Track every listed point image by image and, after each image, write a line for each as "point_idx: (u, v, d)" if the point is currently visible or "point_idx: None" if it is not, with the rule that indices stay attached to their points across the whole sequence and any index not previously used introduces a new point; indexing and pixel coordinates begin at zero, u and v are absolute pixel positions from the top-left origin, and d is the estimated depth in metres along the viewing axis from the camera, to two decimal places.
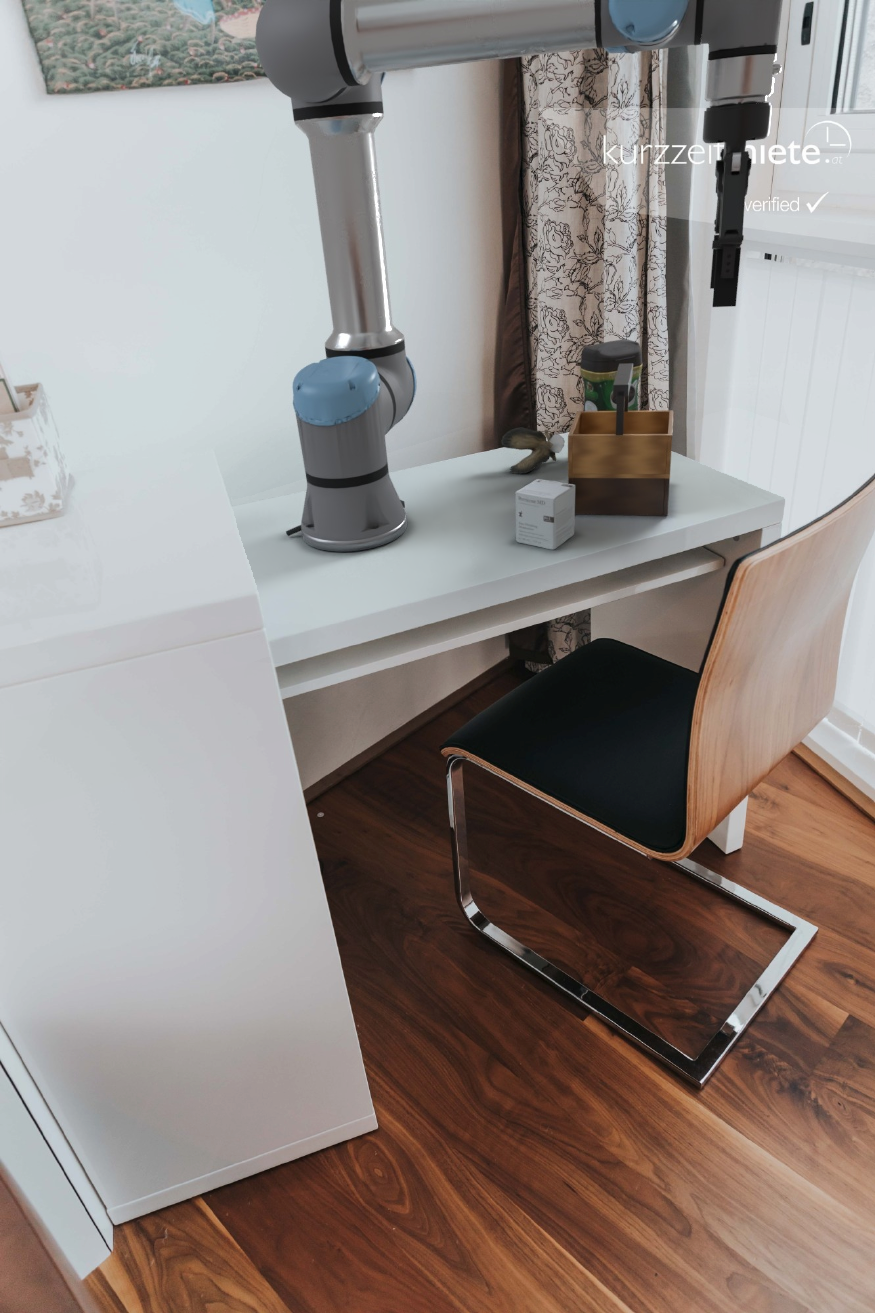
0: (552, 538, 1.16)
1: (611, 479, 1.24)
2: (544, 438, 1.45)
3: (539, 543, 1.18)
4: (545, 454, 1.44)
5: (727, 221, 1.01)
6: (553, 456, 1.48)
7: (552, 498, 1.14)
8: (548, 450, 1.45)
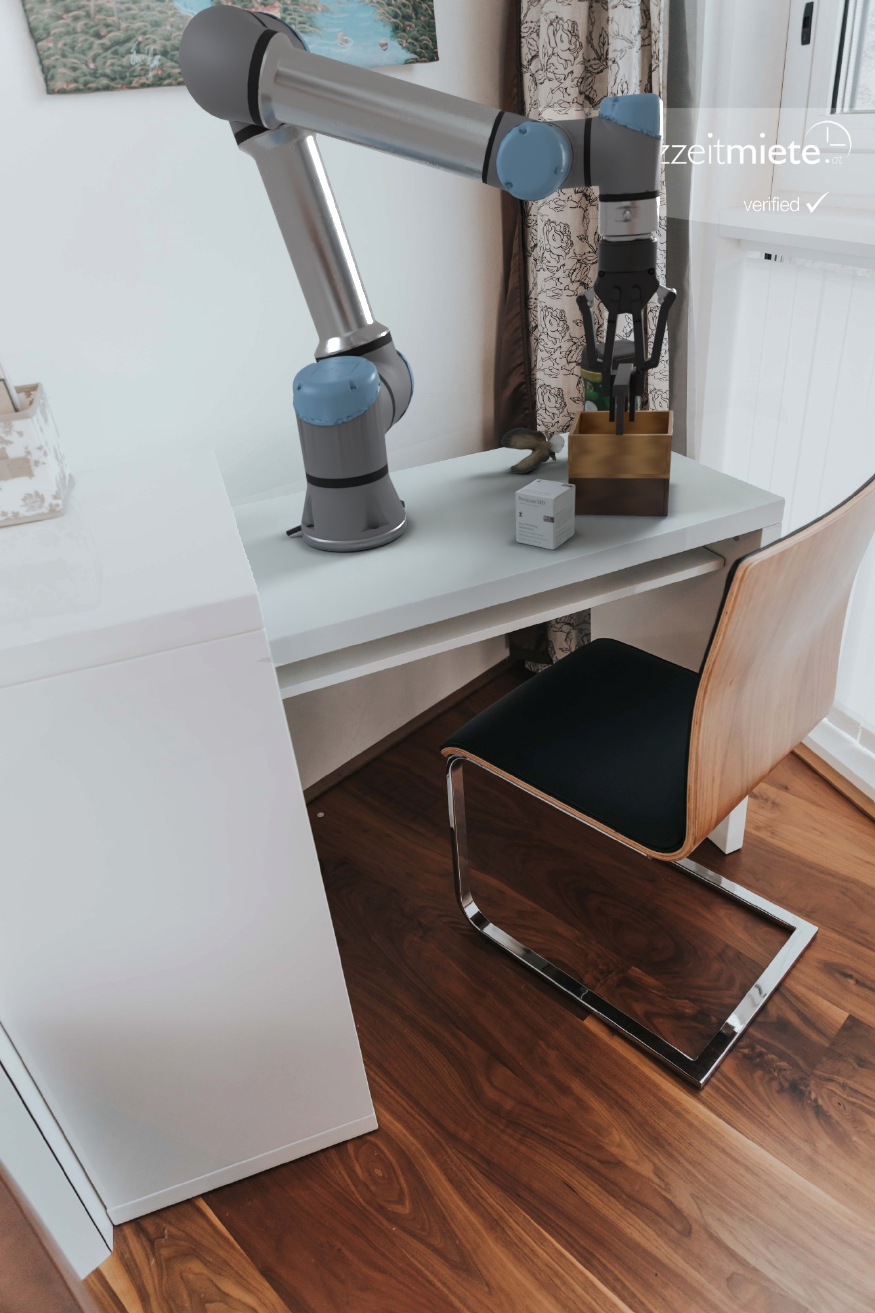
0: (552, 538, 1.16)
1: (611, 479, 1.24)
2: (544, 438, 1.45)
3: (539, 543, 1.18)
4: (545, 454, 1.44)
5: None
6: (553, 456, 1.48)
7: (552, 498, 1.14)
8: (548, 450, 1.45)
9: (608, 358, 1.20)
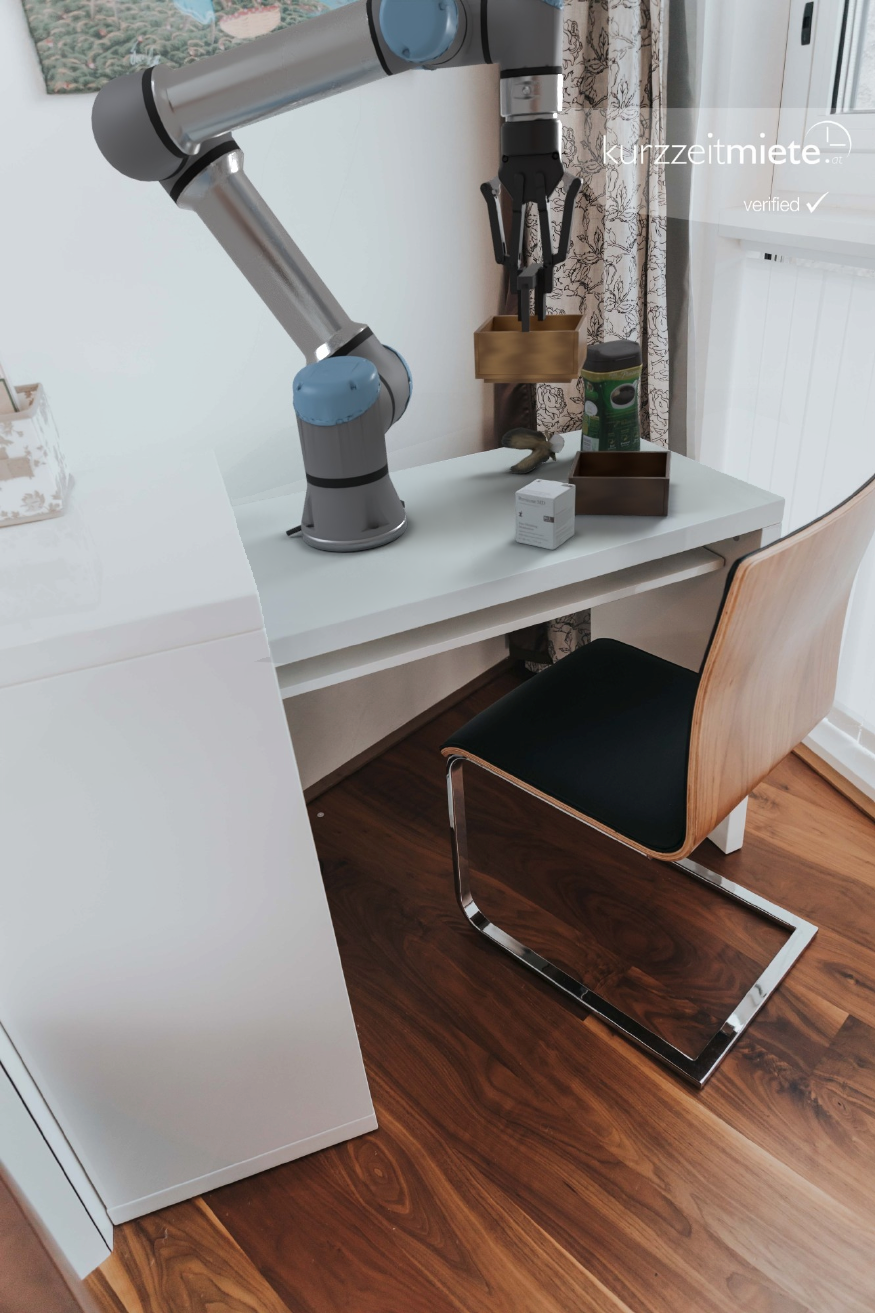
0: (552, 538, 1.16)
1: (611, 479, 1.24)
2: (544, 438, 1.45)
3: (539, 543, 1.18)
4: (545, 454, 1.44)
5: None
6: (553, 456, 1.48)
7: (552, 498, 1.14)
8: (548, 450, 1.45)
9: (515, 251, 1.16)
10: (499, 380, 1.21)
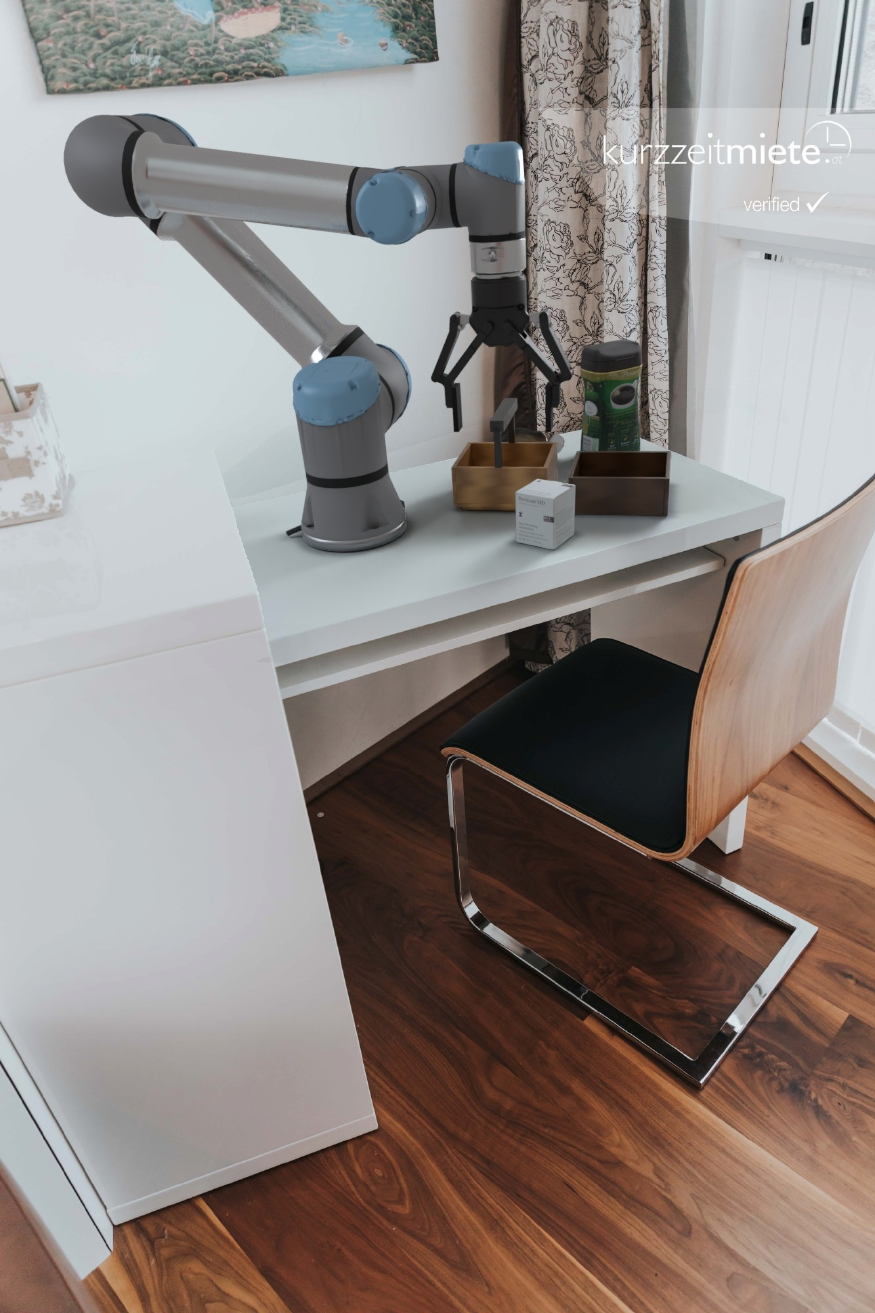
0: (552, 538, 1.16)
1: (611, 479, 1.24)
2: (544, 438, 1.45)
3: (539, 543, 1.18)
4: None
5: None
6: None
7: (552, 498, 1.14)
8: None
9: (453, 374, 1.26)
10: (476, 507, 1.32)
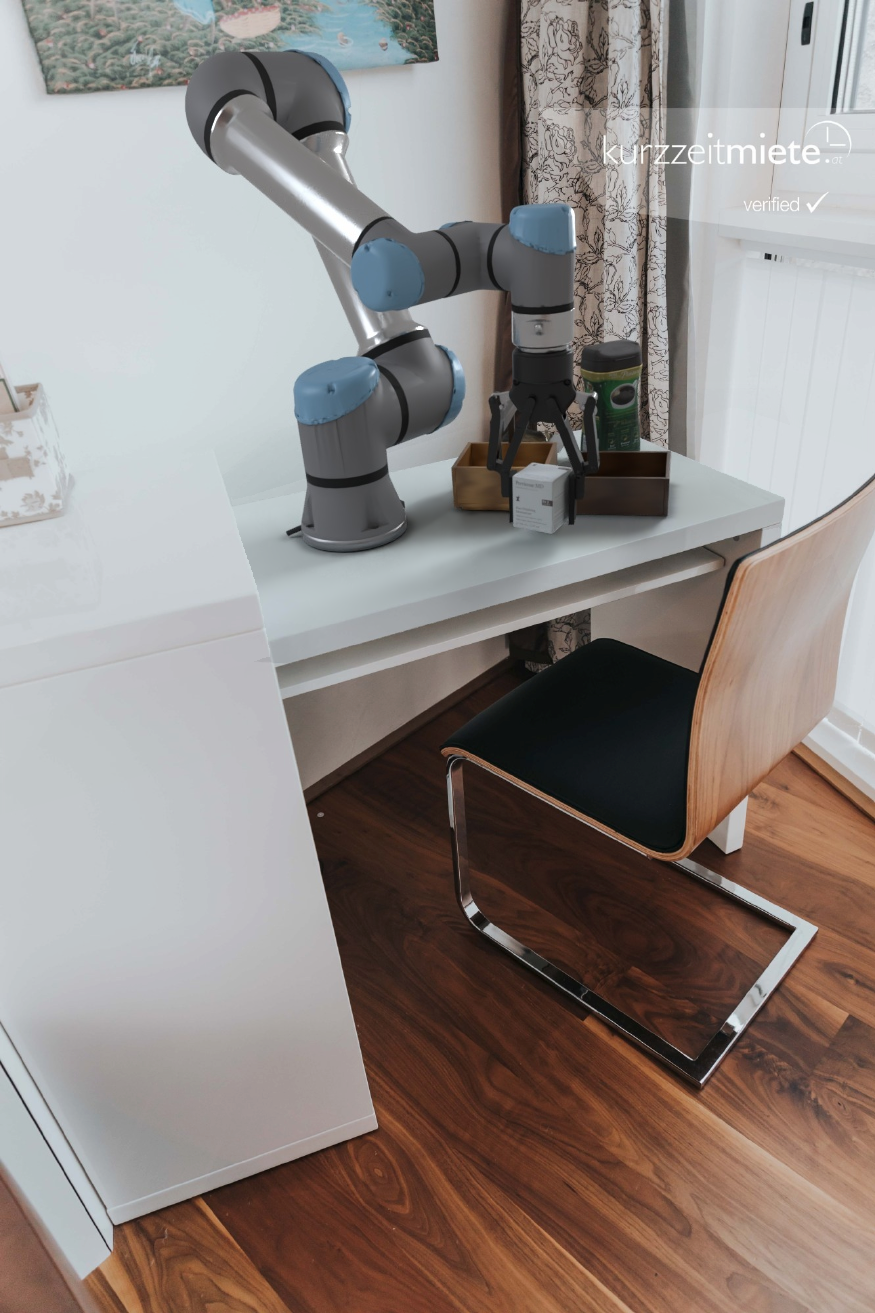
0: (551, 521, 1.16)
1: (611, 479, 1.24)
2: (544, 438, 1.45)
3: (537, 527, 1.17)
4: None
5: None
6: None
7: (551, 481, 1.13)
8: None
9: (509, 461, 1.15)
10: (476, 507, 1.32)
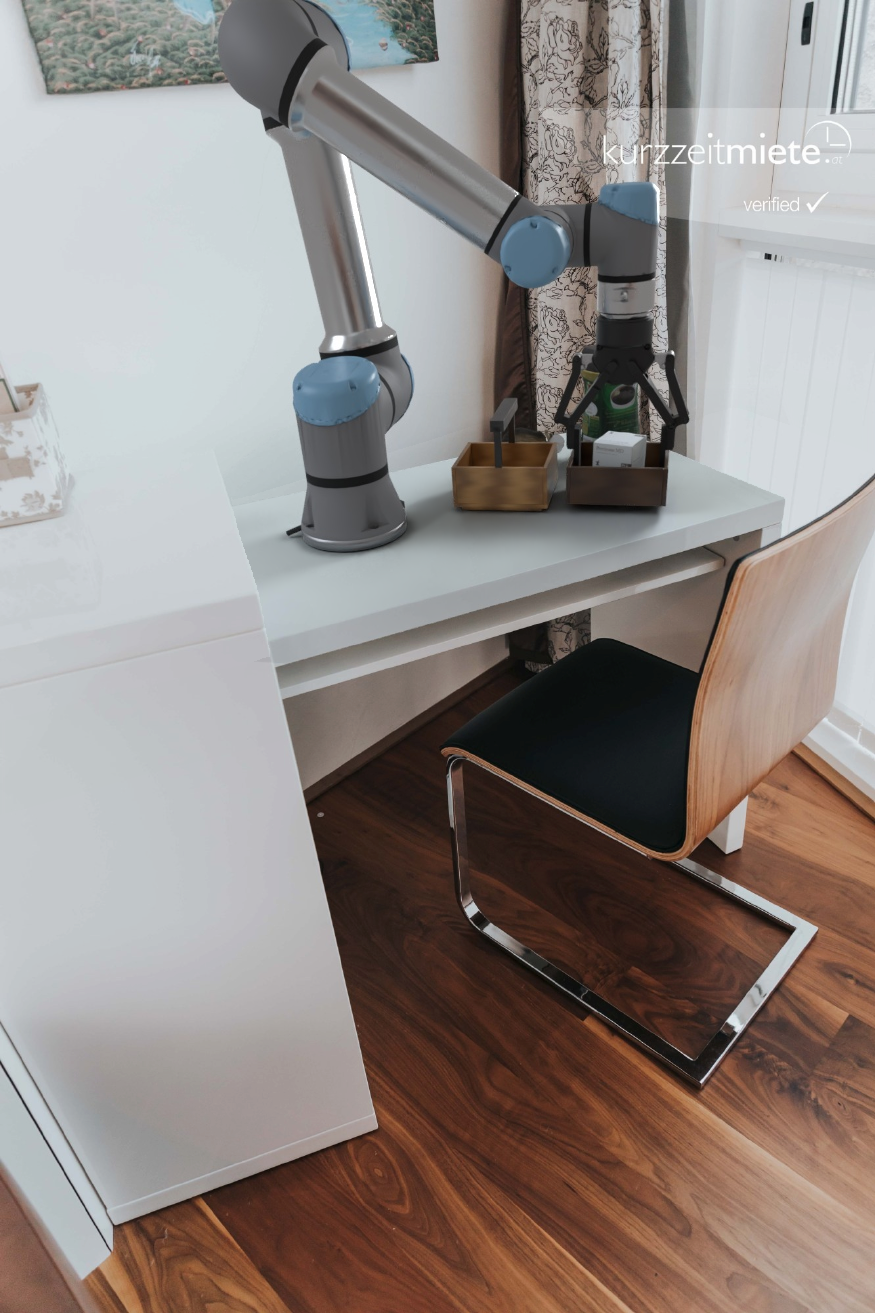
0: None
1: (609, 469, 1.23)
2: (544, 438, 1.45)
3: None
4: None
5: None
6: None
7: (631, 446, 1.23)
8: None
9: (577, 416, 1.25)
10: (476, 507, 1.32)
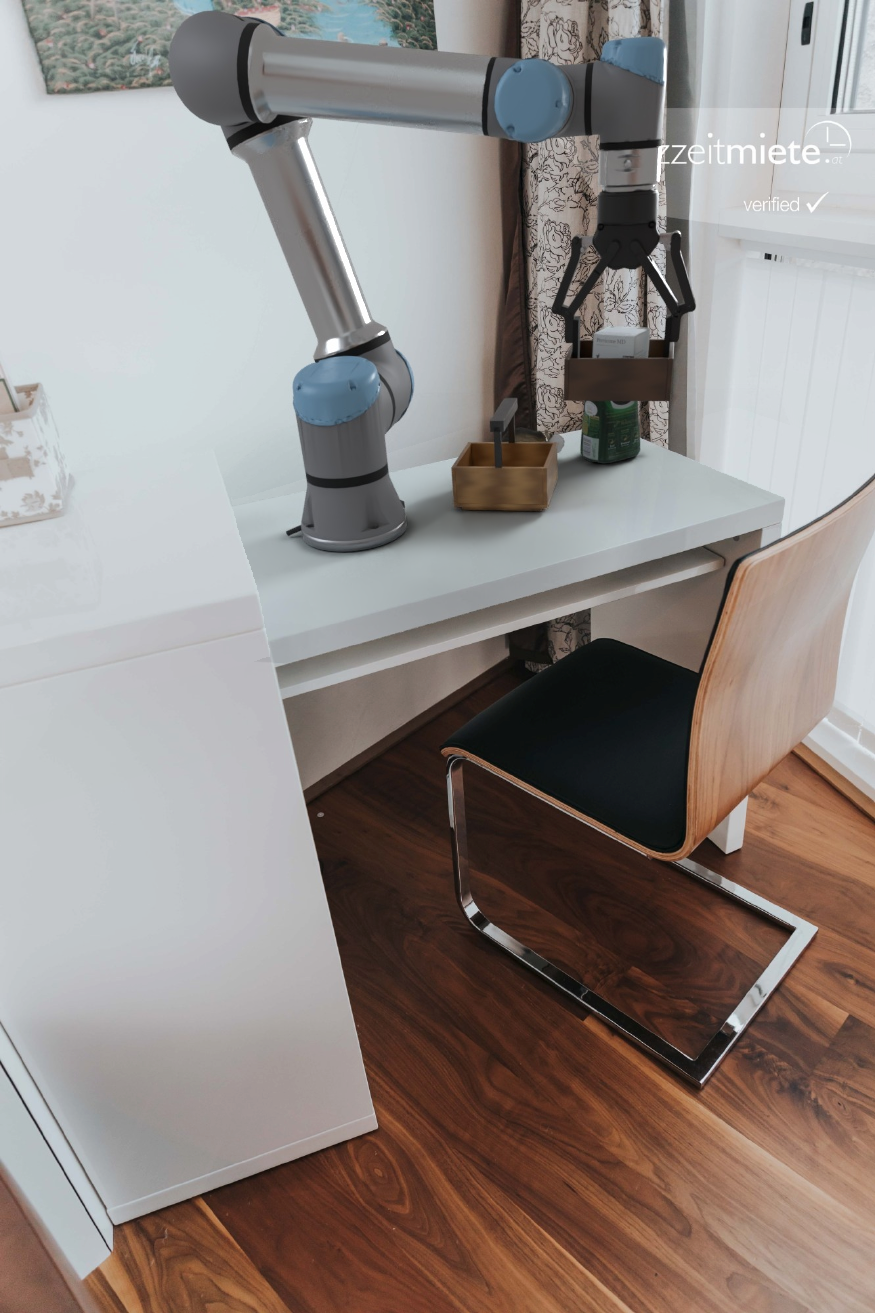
0: None
1: (610, 360, 1.15)
2: (544, 438, 1.45)
3: None
4: None
5: None
6: None
7: (633, 336, 1.15)
8: None
9: (576, 305, 1.17)
10: (476, 507, 1.32)
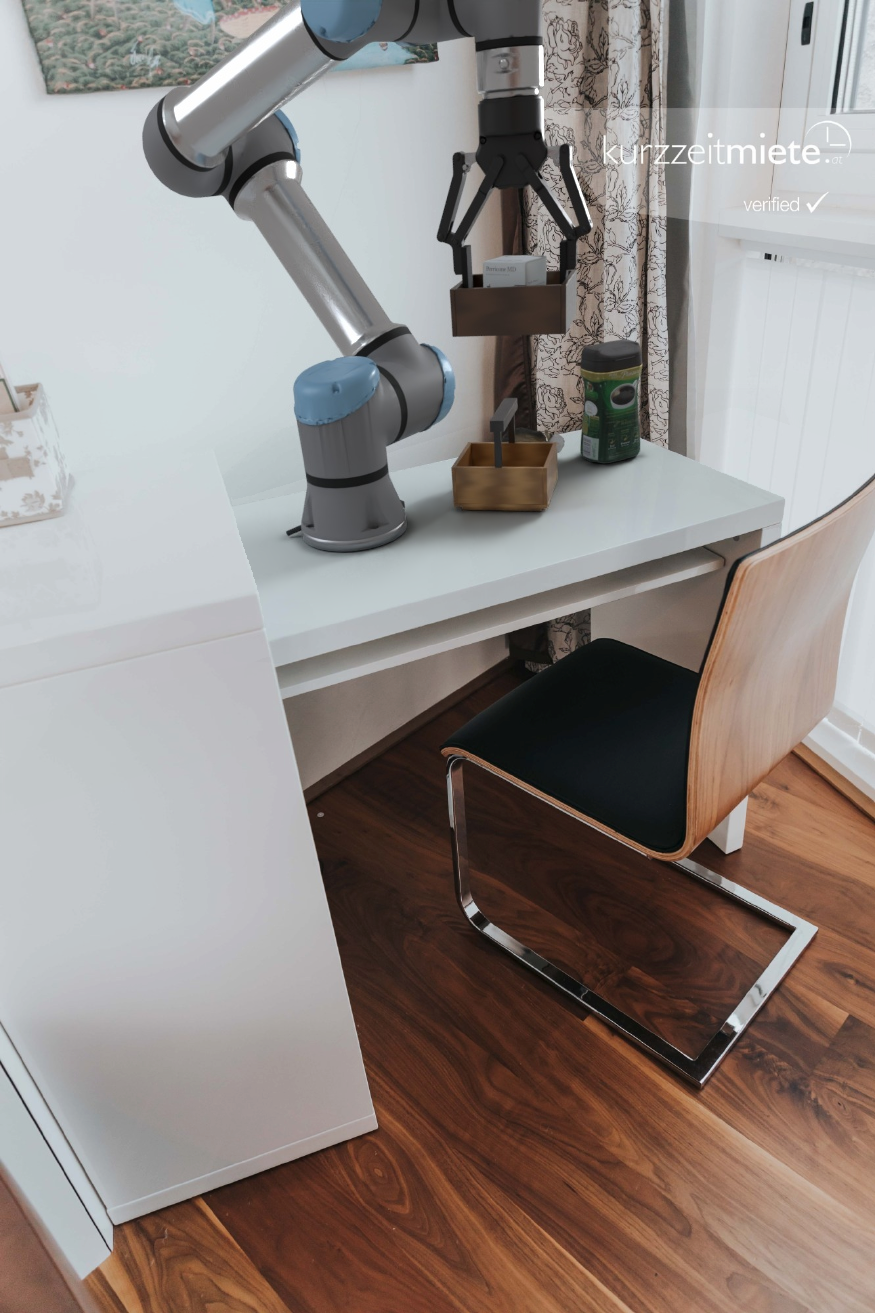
0: None
1: (499, 289, 1.05)
2: (544, 438, 1.45)
3: None
4: None
5: None
6: None
7: (524, 262, 1.05)
8: None
9: (463, 230, 1.07)
10: (476, 507, 1.32)
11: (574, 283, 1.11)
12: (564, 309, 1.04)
